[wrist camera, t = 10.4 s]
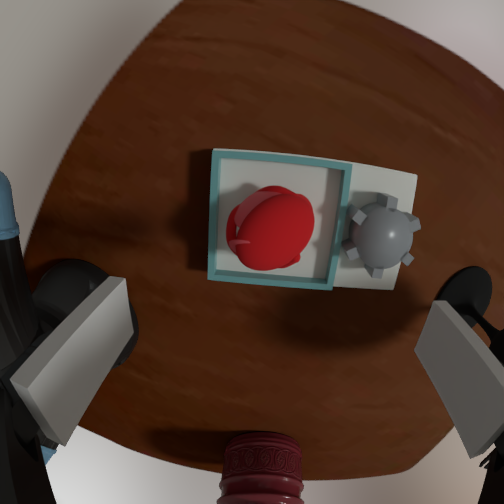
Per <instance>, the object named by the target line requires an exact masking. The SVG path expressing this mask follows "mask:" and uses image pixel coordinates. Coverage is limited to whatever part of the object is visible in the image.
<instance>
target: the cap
mask: <svg viewBox="0 0 504 504" xmlns="http://www.w3.org/2000/svg"><path fill="white" fill-rule="evenodd" d="M314 223H315V219H314V213H313V208H312V205H311V203H310V201H309V200H308V199H307V198H306V197H305V196H304V195H302V194H296V193H294V192H292V191H291V190H289V189H287V188H285V187H282V186H276V185H272V186H267V187H264V188H261V189H259V190H258V191H256V192H255V193H253V194H251V195H250V196H248V197H247V198H246V199H245V200H244V201H243V202H242V203H241V204H239V205H237V206H236V207H235V208H234V209H233V210H232V211H231V213H230V215H229V217H228V221H227V225H226V241H227V244H228V246H229V248H230V249H231V251H232V252H233V253H234V254H235V255H236V256H238V258H239V260H240V262H241V263H242V264H243V265H245V266H246V267H248V268H250V269H253V270H257V271H268V270H273V269H277V268H286V267H289V266H291V265H293V264H295V263H297V262H299V261H300V258H301V256H300V253H301V252H302V251H303V250H304V248H305V247H306V246H307V244H308V242H309V241H310V238H311V236H312V233H313V230H314ZM237 226H238V227H239V230H238V233H237V236H236V230H237Z"/></svg>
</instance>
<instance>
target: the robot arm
mask: <svg viewBox="0 0 504 504" xmlns="http://www.w3.org/2000/svg"><path fill="white" fill-rule="evenodd" d="M19 233H20V232H19V225H18V223H17V222H16V218H15V212H14V205H13V198H12V191H11V185H10V182H9V180H8V178H7V177H6V176H5V175H4V173H2V172H1V171H0V504H56V501H55V498H54V495H53V492H52V488H51V485H50V481H49V478H48V474H47V470H46V467H45V465H46V464H47V462H48V461H49V460H50V458H51V457H52V455H53V454H55V453H56V451H57V450H56V448H57V446H58V445H59V444H61V445H63V446H66V444H67V442H68V440H69V439H70V437H71V435H72V433H73V431H74V430H75V428H76V426H77V424H78V423H79V421H80V419H81V417H82V416H83V414H84V412H85V410H86V409H87V407H88V405H89V404H90V402H91V400H92V399H93V397H94V395H95V393H96V392H97V390H98V389H99V387H100V385H101V384H102V382H103V380H104V379H105V377H106V375H107V374H108V372H109V371H110V370H112V369H113V368H116V367H118V366H119V365H121V364H122V363H124V362H125V361H126V360H127V358H128V357H129V355H130V354H131V352H132V351H133V349H134V347H135V345H136V343H137V340H138V332H139V330H138V322H137V318H136V314H135V311H134V309H133V307H132V305H131V303H130V301H129V299H128V295H127V287H126V280H125V278H120V277H113V276H109V275H108V274H107V273H105V272H104V271H103V270H101V269H100V268H98V267H96V266H95V265H93V264H90V263H88V262H85V261H82V260H76V259H69V260H64V261H61V262H59V263H58V264H56V265H55V266H53V267H52V268H50V269H49V270H48V271H47V272H46V273H45V274H44V275H43V276H42V278H41V280H40V282H39V284H38V286H37V288H36V289H35V291H34V292H33V294H31V291H30V287H29V283H28V279H27V275H26V270H25V266H24V261H23V257H22V251H21V247H20V241H19ZM414 351H415V353H416V355H417V356H418V358H419V360H420V361H421V363H422V365H423V367H424V368H425V370H426V372H427V374H428V376H429V377H430V379H431V381H432V383H433V385H434V386H435V388H436V390H437V392H438V394H439V396H440V397H441V399H442V401H443V403H444V405H445V407H446V409H447V411H448V413H449V415H450V417H451V419H452V421H453V423H454V425H455V427H456V429H457V431H458V433H459V435H460V438H461V440H462V442H463V444H464V446H465V448H466V450H467V453H468V455H469V457H470V459H471V458H473V457H475V456H478V455H480V454H483V453H484V452H485V451H486V450H487V449H488V448H489V447H490V446H491V445H492V444H493V443H494V444H495V446H496V448H495V449H494V450H493V451H492V452H491V453H490V454H489V455H488V456H487V457H486V458H485V459H484V460H483V461H482V462H481V463H480V465H479V467H482V466H483V464H485V463H486V462H487V461H488V460H489V463H488V464H487V465H486V466H485V467H484V468H485V469H487V473H486V477H485V481H484V484H483V488H482V492H481V495H480V498H479V501H478V504H504V365H503V363H502V362H501V361H499V360H498V359H497V358H496V357H495V356H494V354H493V353H492V352H491V351H490V350H489V348H488V347H487V346H486V345H485V344H484V342H483V341H482V340H481V339H480V338H479V337H478V335H477V334H476V333H475V332H474V331H473V330H472V329H471V327H470V326H469V325H468V324H467V323H466V322H465V321H464V320H463V318H462V317H461V316H460V315H459V314H458V313H457V312H456V311H455V310H454V309H453V308H452V307H451V306H450V304H449V303H448V302H447V301H433V303H432V306H431V309H430V312H429V314H428V317H427V320H426V322H425V325H424V328H423V330H422V333H421V335H420V337H419V340H418V342H417V345H416V347H415V349H414Z"/></svg>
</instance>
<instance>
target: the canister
mask: <svg viewBox="0 0 504 504" xmlns="http://www.w3.org/2000/svg"><path fill="white" fill-rule="evenodd" d="M301 461H302V451H301V449H300V446H299V444H298V442H297V441H296V440H294V439H293V438H291V437H288V436H286V435H282V434H278V433H272V432H253V433H246V434H242V435H239V436H237V437H234V438H233V439H231V440H230V441H229V442H228V444H227V447H226V448H225V451H224V465H223V471H222V478H221V482H220V483H219V487H220V489H221V490H222V494H221V497H220V498H219V499H218V500H217V504H304V501H303V500H302V499H300V496H301V492H302V491H303V489H304V485H303V483H302V467H301Z"/></svg>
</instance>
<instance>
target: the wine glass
mask: <svg viewBox="0 0 504 504" xmlns="http://www.w3.org/2000/svg"><path fill="white" fill-rule="evenodd" d="M491 294H492V282H491V278H490V276H489V274H488V272H487V271H486V270H484V269H483V268H481V267H477V266H472V267H468V268H465V269H463V270H461V271H460V272H458V273H457V274H455V275H454V276H453V277H452V278H451V279H450V280H449V281H448V282H447V284H446V285H445V286H444V287H443V289H442V291H441V292H440V294H439V296H438V298H437V300H436V301H447V302H448V303H449V304H450V306H451V307H452V308H453V309H454V310H455V311H456V312H457V313H458V314H459V315H460V316H461V317H462V318H463V320H464V321H465V322H466V323H467V324H468V325H469V326H470V327H471V328H472V327H473V326H475V324H476V323H478V324H479V325H480V326H481V327H482V328H483V329H484V331H485V332H486V333H487V335H488V336H489V338H490V340H491V344H490V347H489V350H490V351H491V352H492V353H493V354H494V356H495V357H496V358H497V359H498V360H499V361H501V362H502V363H503V365H504V329H503V330H501V331H499V330H497V329H496V328H494V327H493V326H492V325H491V324H490V323H488V322H487V321H486V320H485V319H484V318H483V317H482V316H483V314H484V313H485V311H486V309H487V307H488V305H489V302H490V299H491Z"/></svg>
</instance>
